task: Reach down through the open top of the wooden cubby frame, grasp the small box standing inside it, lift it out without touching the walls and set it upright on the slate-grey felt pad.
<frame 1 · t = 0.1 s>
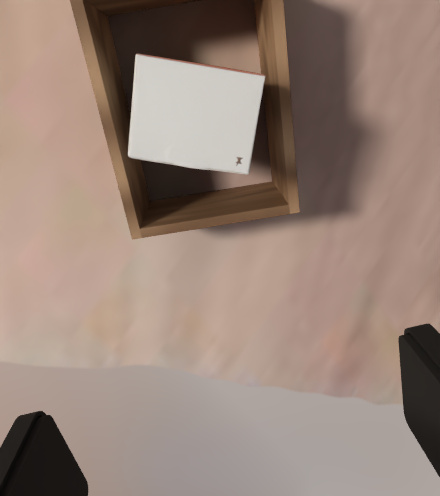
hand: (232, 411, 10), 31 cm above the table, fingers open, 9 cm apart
small box: (197, 105, 37), resting in wooden cubby frame
wooden cubby frame: (197, 105, 37), on the table
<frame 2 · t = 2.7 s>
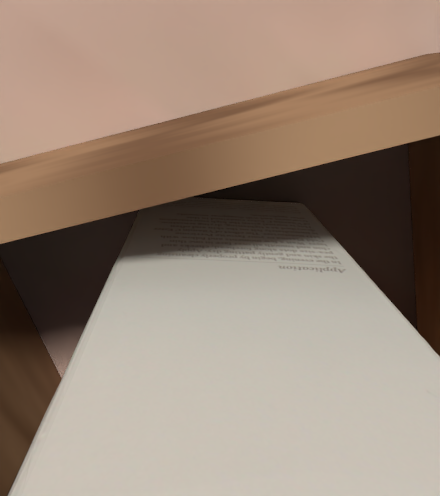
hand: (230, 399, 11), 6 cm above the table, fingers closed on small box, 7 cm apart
small box: (220, 284, 17), resting in wooden cubby frame, touching gripper
wooden cubby frame: (220, 287, 17), on the table
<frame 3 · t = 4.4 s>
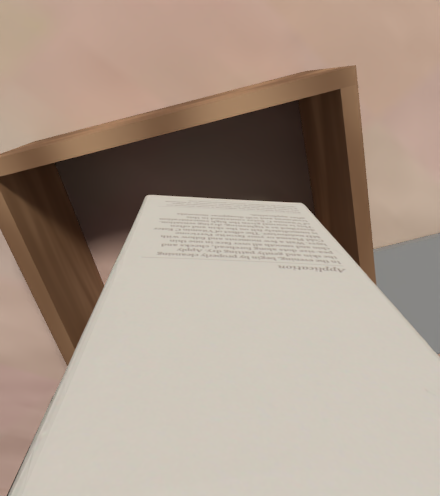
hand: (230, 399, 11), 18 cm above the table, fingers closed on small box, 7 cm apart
small box: (220, 284, 17), point 12 cm above the table, touching gripper
pad: (407, 302, 32), on the table
wooden cubby frame: (196, 209, 28), on the table
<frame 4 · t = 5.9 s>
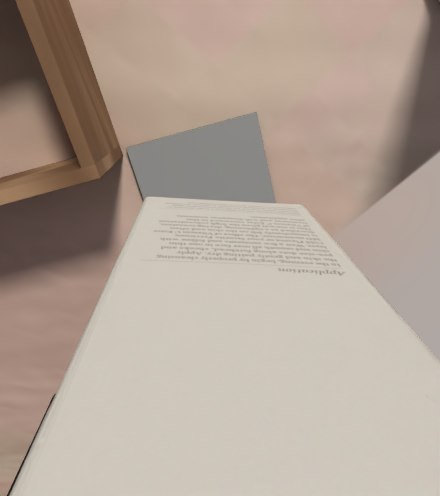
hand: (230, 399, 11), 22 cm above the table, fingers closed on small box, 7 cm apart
small box: (220, 286, 17), point 16 cm above the table, touching gripper
pad: (209, 198, 32), on the table
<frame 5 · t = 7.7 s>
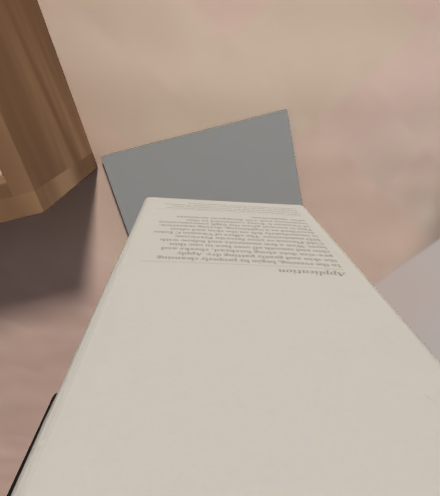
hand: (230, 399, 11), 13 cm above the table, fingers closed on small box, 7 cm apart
small box: (220, 286, 17), point 7 cm above the table, touching gripper
pad: (217, 227, 23), on the table
when the fingers open (8 cm above the table, at t = 9.4 s): small box moves 1 cm, resting on pad.
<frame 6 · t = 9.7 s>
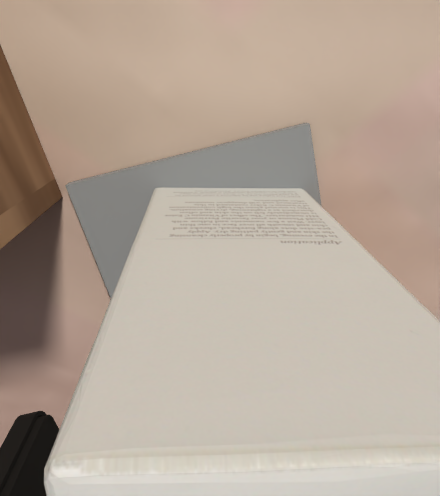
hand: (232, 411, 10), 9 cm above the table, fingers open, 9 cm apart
small box: (228, 270, 18), resting on pad
pad: (217, 270, 18), on the table
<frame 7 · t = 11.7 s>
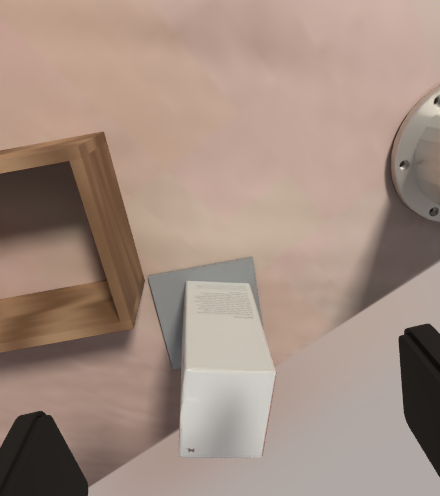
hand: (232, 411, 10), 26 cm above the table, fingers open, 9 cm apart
small box: (215, 315, 40), resting on pad
pad: (210, 314, 40), on the table
wooden cubby frame: (26, 230, 35), on the table
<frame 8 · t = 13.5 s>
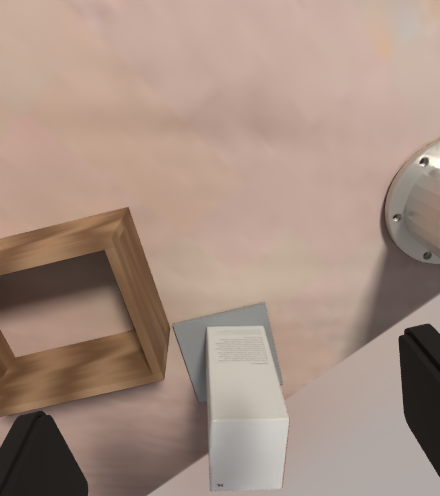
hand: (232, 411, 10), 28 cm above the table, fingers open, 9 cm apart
small box: (234, 354, 44), resting on pad
pad: (230, 353, 44), on the table
wooden cubby frame: (65, 292, 40), on the table
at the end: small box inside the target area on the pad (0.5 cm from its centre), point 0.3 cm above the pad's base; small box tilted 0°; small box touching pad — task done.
